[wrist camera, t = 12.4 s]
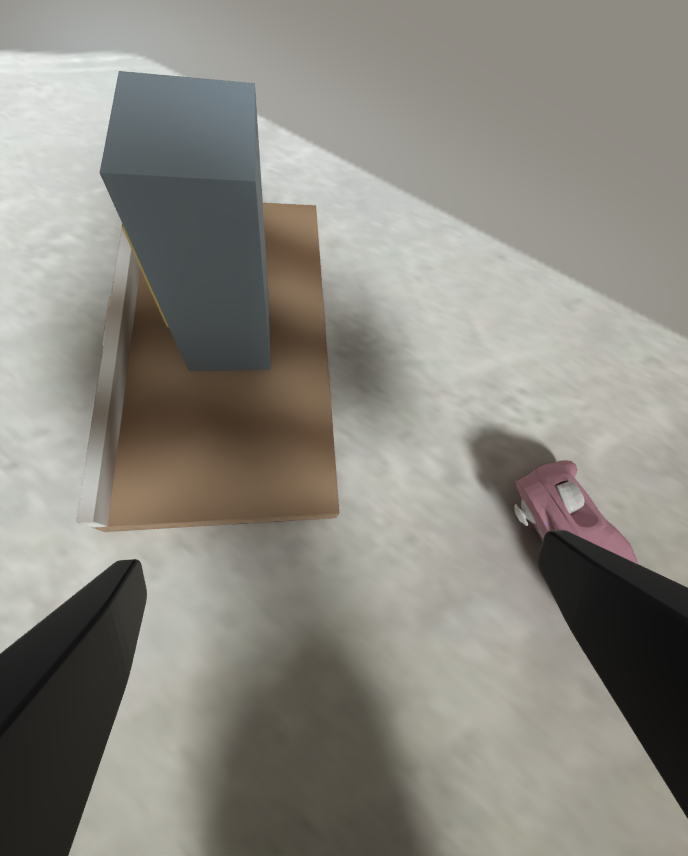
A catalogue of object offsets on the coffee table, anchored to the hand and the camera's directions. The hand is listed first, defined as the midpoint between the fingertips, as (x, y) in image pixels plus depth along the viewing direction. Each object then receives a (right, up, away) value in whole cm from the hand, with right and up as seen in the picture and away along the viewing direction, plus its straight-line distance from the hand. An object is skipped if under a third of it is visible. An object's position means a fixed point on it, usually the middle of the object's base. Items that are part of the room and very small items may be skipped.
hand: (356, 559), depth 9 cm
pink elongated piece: (+12, -4, +15) cm, 20 cm away
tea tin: (-7, +9, +16) cm, 19 cm away
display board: (-8, +8, +17) cm, 20 cm away
